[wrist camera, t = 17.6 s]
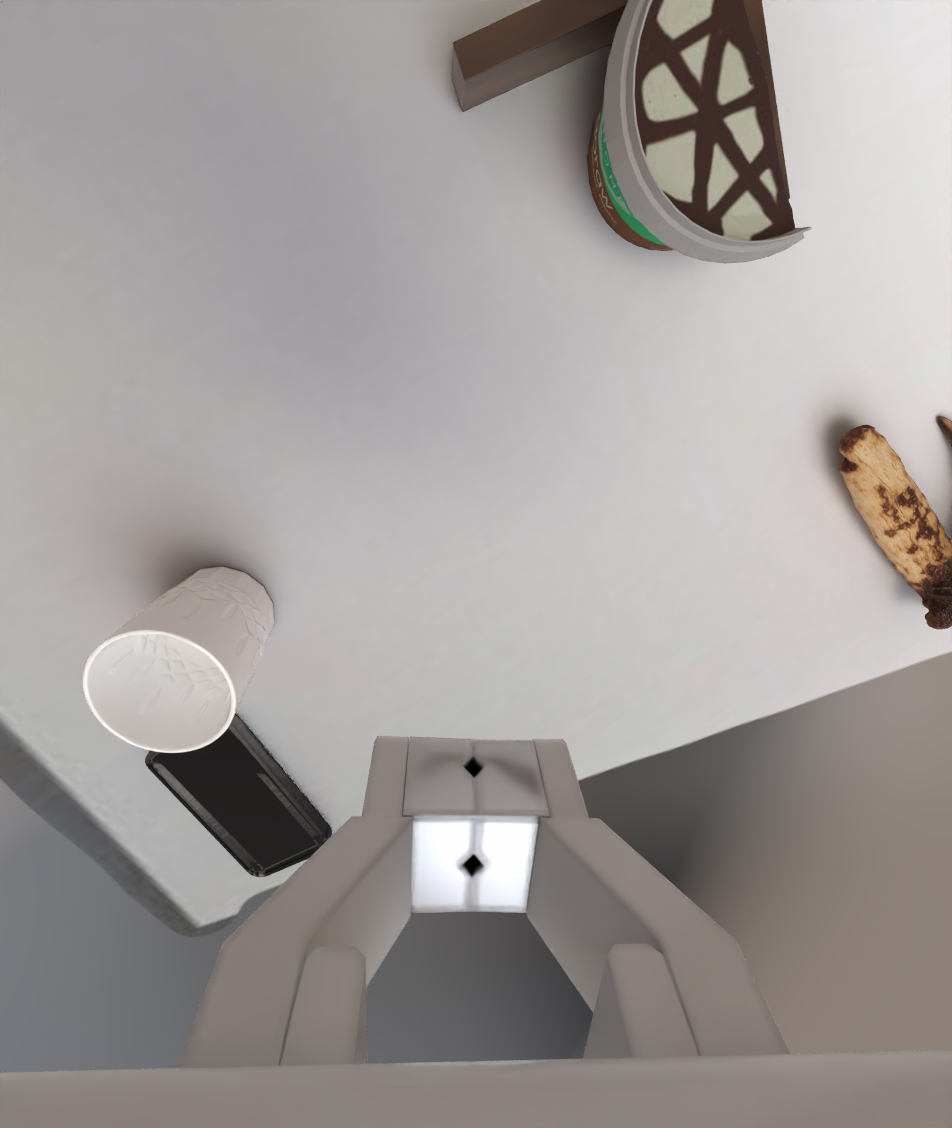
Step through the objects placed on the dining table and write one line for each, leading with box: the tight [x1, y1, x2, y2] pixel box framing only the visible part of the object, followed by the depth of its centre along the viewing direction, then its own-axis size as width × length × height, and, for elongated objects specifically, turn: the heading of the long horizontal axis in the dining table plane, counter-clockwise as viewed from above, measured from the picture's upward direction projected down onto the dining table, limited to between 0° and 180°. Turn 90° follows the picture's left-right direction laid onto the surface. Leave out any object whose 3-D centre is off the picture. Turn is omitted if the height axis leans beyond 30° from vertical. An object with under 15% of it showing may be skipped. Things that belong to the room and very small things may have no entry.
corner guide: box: [452, 0, 790, 200], centre depth 29 cm, size 12×14×4 cm
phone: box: [145, 715, 332, 877], centre depth 45 cm, size 8×1×15 cm
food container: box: [587, 0, 811, 263], centre depth 26 cm, size 12×6×10 cm, turn 26°
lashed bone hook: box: [839, 417, 952, 629], centre depth 37 cm, size 9×5×18 cm
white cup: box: [82, 567, 274, 753], centre depth 35 cm, size 8×8×10 cm
